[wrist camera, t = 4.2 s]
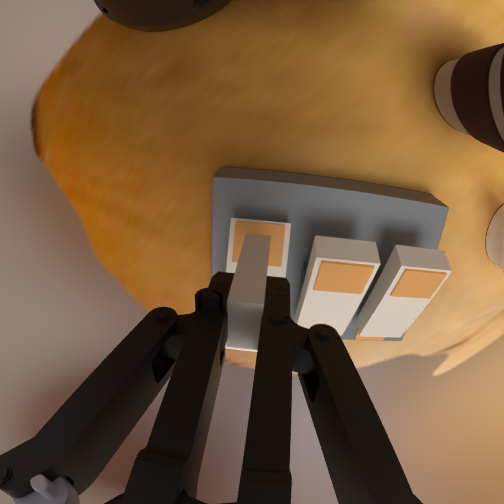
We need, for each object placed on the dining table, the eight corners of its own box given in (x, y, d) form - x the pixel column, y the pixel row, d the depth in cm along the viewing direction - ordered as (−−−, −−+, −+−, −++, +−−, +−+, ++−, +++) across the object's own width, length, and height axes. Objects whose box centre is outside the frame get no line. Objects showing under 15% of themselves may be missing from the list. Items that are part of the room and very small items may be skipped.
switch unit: (222, 166, 27) (209, 180, 22) (430, 193, 26) (455, 212, 21) (219, 303, 34) (210, 335, 29) (392, 317, 32) (404, 348, 28)
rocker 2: (315, 235, 20) (316, 259, 19) (375, 242, 20) (381, 266, 19) (295, 313, 28) (294, 334, 26) (341, 316, 28) (342, 337, 26)
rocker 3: (395, 244, 20) (402, 268, 19) (444, 250, 20) (452, 272, 18) (356, 317, 27) (358, 338, 26) (397, 319, 27) (400, 339, 26)
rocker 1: (234, 219, 24) (230, 217, 22) (289, 224, 24) (291, 223, 22) (223, 339, 25) (219, 348, 23) (275, 344, 25) (276, 354, 23)
